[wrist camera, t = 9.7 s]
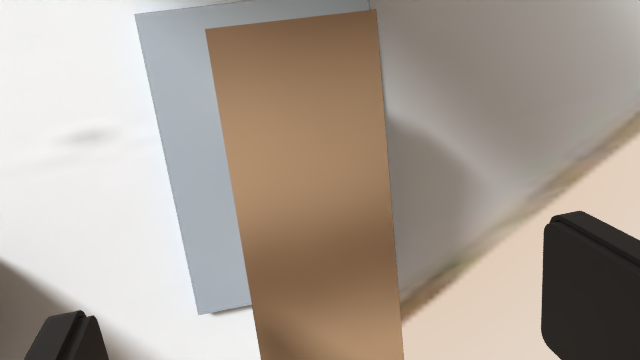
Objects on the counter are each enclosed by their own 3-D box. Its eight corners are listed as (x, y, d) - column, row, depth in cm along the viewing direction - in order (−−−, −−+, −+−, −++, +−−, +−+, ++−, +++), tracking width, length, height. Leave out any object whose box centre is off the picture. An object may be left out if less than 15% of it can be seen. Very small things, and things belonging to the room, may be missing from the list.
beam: (211, 33, 19) (204, 28, 13) (331, 19, 19) (376, 9, 13) (266, 361, 22) (279, 469, 17) (364, 340, 23) (410, 438, 17)
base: (138, 15, 26) (94, 1, 18) (361, -11, 28) (422, -36, 19) (199, 305, 31) (189, 407, 22) (387, 268, 33) (446, 350, 24)
